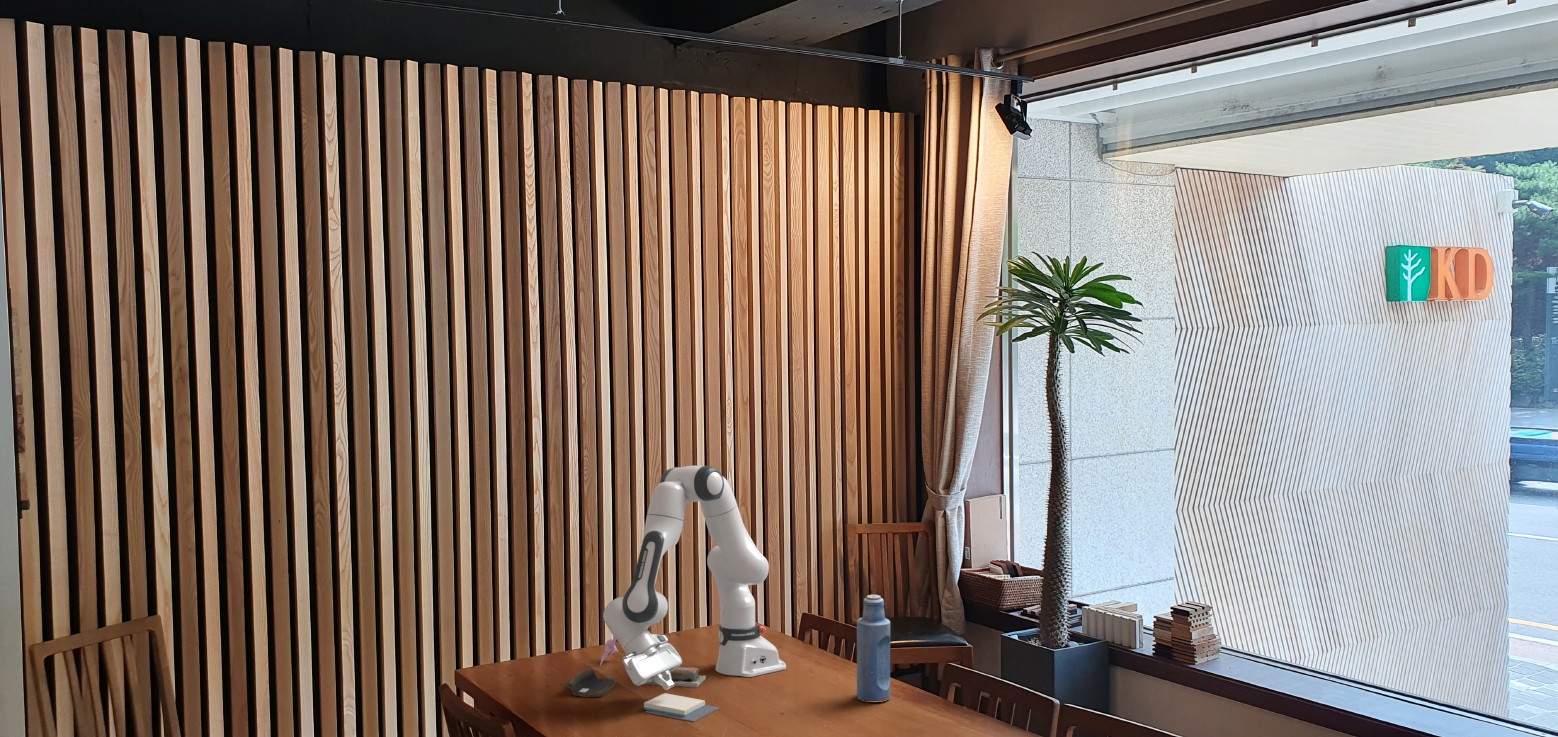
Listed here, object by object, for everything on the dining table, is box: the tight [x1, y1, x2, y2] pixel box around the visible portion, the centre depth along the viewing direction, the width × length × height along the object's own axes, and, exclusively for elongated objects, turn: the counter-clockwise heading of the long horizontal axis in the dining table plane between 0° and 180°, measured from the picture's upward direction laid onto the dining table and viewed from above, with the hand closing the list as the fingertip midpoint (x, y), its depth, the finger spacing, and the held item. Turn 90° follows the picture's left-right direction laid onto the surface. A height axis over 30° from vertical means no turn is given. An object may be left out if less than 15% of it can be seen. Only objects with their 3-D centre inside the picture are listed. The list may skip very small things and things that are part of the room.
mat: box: [644, 704, 721, 723], centre depth 308 cm, size 16×13×1 cm
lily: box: [599, 636, 624, 667], centre depth 357 cm, size 12×12×10 cm
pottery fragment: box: [564, 668, 616, 698], centre depth 327 cm, size 15×12×4 cm
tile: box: [643, 692, 706, 717], centre depth 309 cm, size 2×10×14 cm
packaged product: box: [643, 665, 707, 688], centre depth 336 cm, size 18×5×10 cm
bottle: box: [856, 594, 891, 701], centre depth 318 cm, size 10×10×30 cm
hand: (670, 687), depth 310 cm, fingers closed
